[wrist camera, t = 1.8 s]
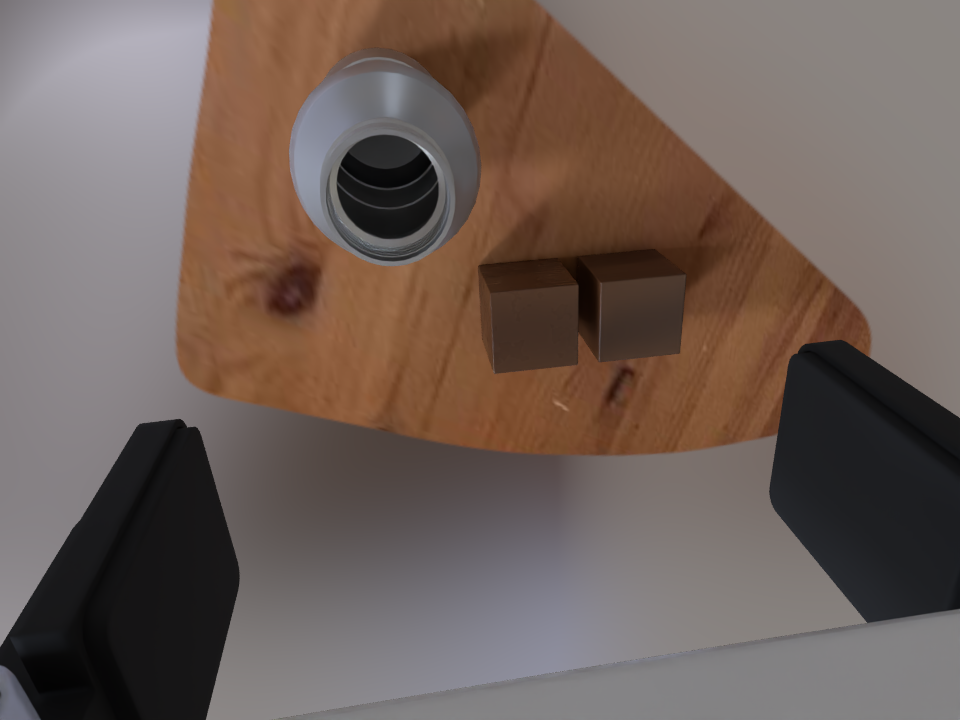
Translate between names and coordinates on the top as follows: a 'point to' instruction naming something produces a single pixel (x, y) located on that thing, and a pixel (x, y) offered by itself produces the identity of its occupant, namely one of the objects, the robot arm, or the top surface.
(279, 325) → the top surface
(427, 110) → the silver bottle
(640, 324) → the walnut block
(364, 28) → the top surface
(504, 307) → the walnut block
